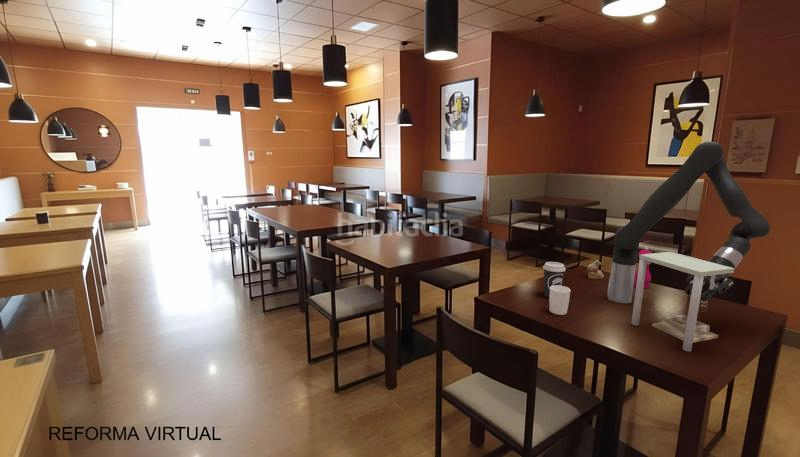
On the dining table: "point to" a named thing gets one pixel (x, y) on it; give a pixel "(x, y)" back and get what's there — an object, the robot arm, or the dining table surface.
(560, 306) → the white cup
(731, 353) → the dining table surface
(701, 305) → the utensil holder
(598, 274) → the chocolate bunny
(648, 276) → the pepper mill
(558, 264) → the coffee cup
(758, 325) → the dining table surface
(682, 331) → the socket block
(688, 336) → the white bench
